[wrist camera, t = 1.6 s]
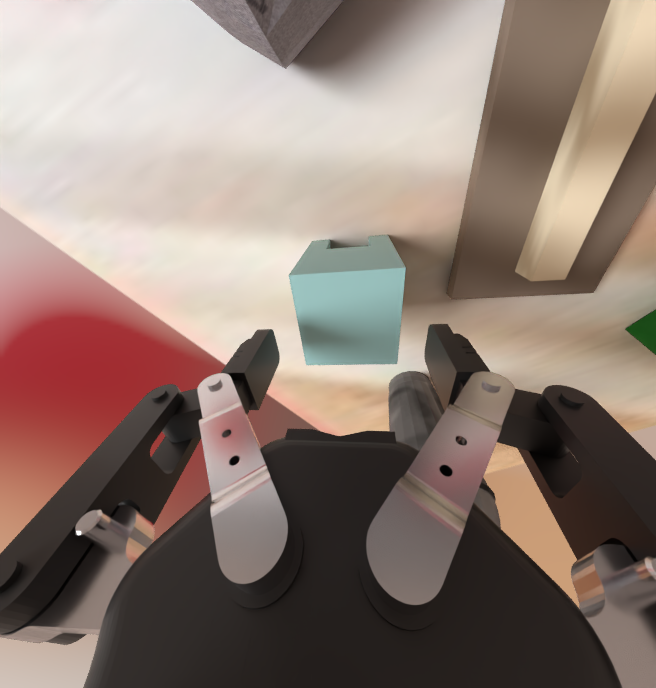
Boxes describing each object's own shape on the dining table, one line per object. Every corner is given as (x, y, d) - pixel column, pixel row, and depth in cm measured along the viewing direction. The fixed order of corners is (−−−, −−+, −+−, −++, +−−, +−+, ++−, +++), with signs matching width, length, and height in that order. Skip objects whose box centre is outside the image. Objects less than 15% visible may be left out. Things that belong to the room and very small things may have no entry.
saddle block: (312, 241, 19) (288, 275, 12) (387, 234, 18) (405, 267, 11) (321, 309, 22) (306, 364, 15) (384, 306, 21) (397, 364, 15)
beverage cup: (451, 398, 27) (598, 736, 11) (390, 414, 29) (432, 706, 13) (433, 351, 23) (607, 745, 7) (365, 374, 26) (382, 701, 10)
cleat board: (549, -222, 9) (633, -395, 6) (913, -335, 7) (1226, -623, 5) (446, 293, 20) (460, 310, 17) (581, 286, 19) (617, 304, 16)
